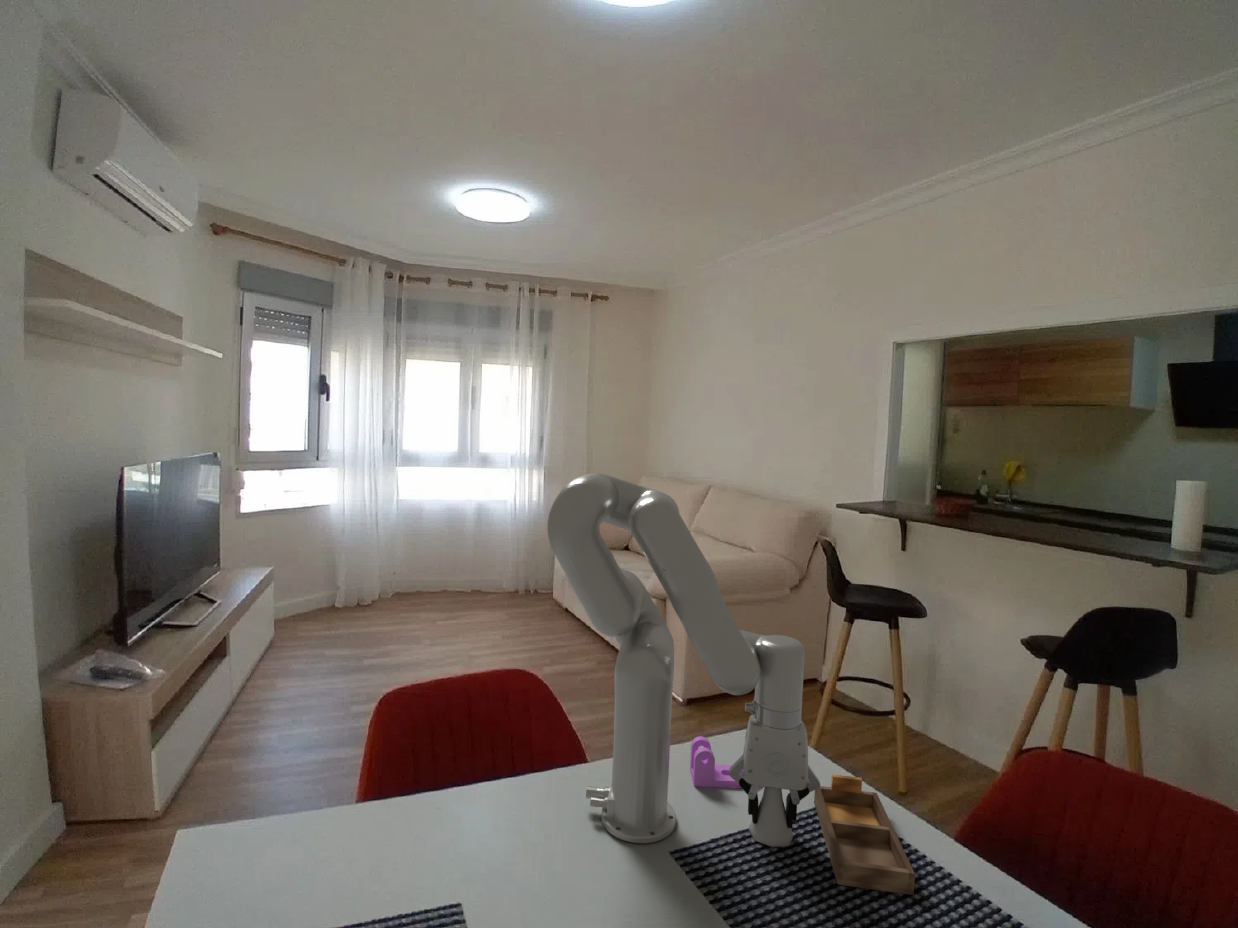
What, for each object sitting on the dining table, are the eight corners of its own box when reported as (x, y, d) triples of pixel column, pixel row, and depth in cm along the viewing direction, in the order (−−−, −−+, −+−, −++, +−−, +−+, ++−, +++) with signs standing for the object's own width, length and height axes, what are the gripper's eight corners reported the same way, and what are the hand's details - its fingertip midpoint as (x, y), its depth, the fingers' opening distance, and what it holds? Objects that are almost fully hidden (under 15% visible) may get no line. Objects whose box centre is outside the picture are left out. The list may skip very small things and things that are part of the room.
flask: (795, 852, 96) (798, 790, 95) (748, 844, 97) (751, 783, 97) (791, 824, 103) (794, 766, 103) (748, 817, 104) (751, 760, 104)
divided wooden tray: (837, 884, 89) (839, 847, 89) (814, 802, 109) (815, 772, 109) (913, 894, 88) (916, 857, 87) (875, 810, 108) (877, 779, 108)
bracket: (693, 787, 113) (695, 750, 113) (689, 770, 119) (691, 735, 118) (762, 789, 113) (764, 752, 113) (755, 772, 119) (757, 737, 119)
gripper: (725, 717, 97) (719, 828, 98) (835, 729, 94) (829, 842, 95) (724, 698, 104) (719, 800, 105) (826, 708, 102) (820, 813, 102)
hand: (771, 819), depth 100 cm, fingers closed on flask, 4 cm apart
